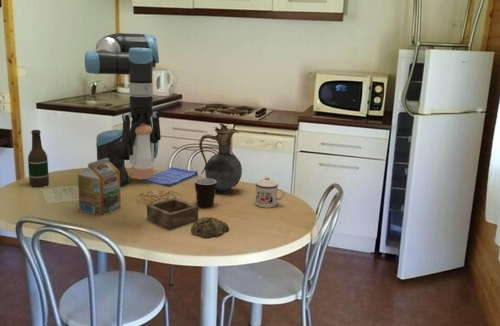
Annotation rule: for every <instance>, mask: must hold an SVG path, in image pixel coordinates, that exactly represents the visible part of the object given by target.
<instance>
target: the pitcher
mask: <svg viewBox="0 0 500 326" xmlns="http://www.w3.org/2000/svg"><path fill="white" fill-rule="evenodd" d="M219 126H221V127H220V128H218V127H217V126H215V127H213V128H215V129H214V131H215V133H216V135H212V134H206V133H205V134H204V135H202V136H201V138H200V139H199V144H198V147H199V150H200V153H201V155H202V158H203V160H204V165H205V166H204V168H203V170H202V172H201V173H200V175H203V173H204V172H205V178H209V179H214V180H216V181H217V183H216V190H215V194H216V193H217V194H222V195H225V194H226V195H228V194H231V193H232V192H233V189H232V188H233V187H235V186H237V184H239V182H240V180H241V178H242V175H243V167H242V164H241V161H240V160H239V159H238V157H237V156H235V155H233V154H232V153H231V145H232V136H233V135H234V134H235V133H237V134H240V131H238V130H236V129H235V128H228V127H229V126H228V125H226V124H225V125H224V124H223V123H219ZM205 139H211V140H214V141H216V142H217V145H218V152H217V153H216V154H214V155H211V156H210V158H209V159H208V160H207V159H206V156H205V153H204V151H203V150H204V148H203V141H204V140H205Z"/></svg>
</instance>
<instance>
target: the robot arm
mask: <svg viewBox="0 0 500 326" xmlns="http://www.w3.org/2000/svg"><path fill="white" fill-rule="evenodd" d="M158 50H159V49H158V43H157V37H156V36H155V35H153V34H146V33H125V32H123V33H122V32H117V33H115V32H114V33H111V34H107V35H105V36H103V37H101V38H100V39H99V40H98V41H97V42H96V45H95V50H90V51H89V50H87V51H85V53H84V69H85V72H86V73H87V74H94V75H128V76H129V81H128V82H129V87H128V90H129V92H128V93H129V94H130V96H129V107H130V109H129V113H126V114H124V113H122V115H121V119H122V121H123V122H122V129H111V130H106V131H102V132H100V133H98V134H97V135H96V141H95V142H96V143H95V146H96V161H98V160H102V159H105V158H109V162H110V163H112V164H113V165H114V166H115V167H116V168H117V169H118V171H119V172H120V188H121V187H125V186H127V185H129V183H130V178H129V174H128V171H127V169H126V168H127V167H126V165H125V163H126V162H125V161H129V164H130V165H132V164H133V165H136V146H134V141H135V138H136V133H135V129H136V128H137V127H139V126H140V124H142V123H144V124H148V125H150V126H151V128H152V132H151V133H150V149H151V155H152V163H154V162H155V159H156V158H157V157H158V150H159V145H160V144H159V143H160V141H161V138H162V137H161V126H160V116H161V113H160V112H159V111H154V110H153V105H154V104H153V103H154V99H153V98H154V97H153V71H154V70H155V69H156V67H157V66H156V64H159V62H160V58H159V51H158Z"/></svg>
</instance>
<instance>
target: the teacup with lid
mask: <svg viewBox="0 0 500 326" xmlns="http://www.w3.org/2000/svg"><path fill="white" fill-rule="evenodd" d="M278 186H279V184H278V182H277V181H276V180H273V179H271V177H270V176H269V175H267V176H265V177H264V178H262V179H259V180H257V181H255V197H254V198H255V200H254V204H255V205H256V206H257V207H260V208H266V209H267V208H269V209H270V208H273V207H276V206H277V201H282V200H283V199H284V198H285V195H286V194H285V193H286V192H285V191H284V189H283V188H280V187H279V188H278ZM278 191H280V192H281V193H282V196H280V198H277V197H278Z"/></svg>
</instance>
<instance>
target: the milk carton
mask: <svg viewBox="0 0 500 326" xmlns="http://www.w3.org/2000/svg"><path fill="white" fill-rule="evenodd" d="M77 182H78V183H77V186H78V187H77V188H78V205H79V206H78V207H79V211H80V210H82V211H81V212H84V211H85V213H87V212H89V213H88V214H91V213H93V214H92V215H95V214H97V215H96V216H99V215H100V216H101V217H102V216H105V215H107V214H109V213H112V212H114V211H117V210H118V209H120V208H121V207H122V206H121V202H122V201H121V197H122V196H121V187H120V172H119V171H118V169H117V168H116V167H115V166H114V165H113V164H112V163H110V162H109V158H105V159H102V160H98V161H97V160H96V161H92V162H88V163H87V167H86V168H83V169H82V170H80V171H79V173H77ZM111 211H112V212H111ZM106 213H107V214H106ZM104 214H105V215H104ZM100 216H99V217H100Z"/></svg>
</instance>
